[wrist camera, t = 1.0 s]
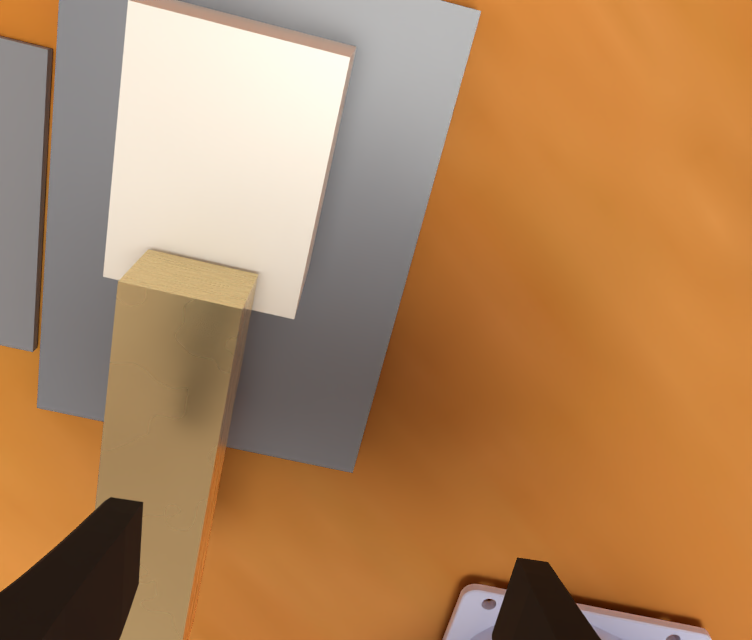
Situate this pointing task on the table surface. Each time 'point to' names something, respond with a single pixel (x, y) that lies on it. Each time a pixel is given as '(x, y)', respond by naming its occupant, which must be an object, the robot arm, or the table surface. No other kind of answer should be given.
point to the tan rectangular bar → (172, 422)
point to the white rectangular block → (224, 144)
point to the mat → (22, 186)
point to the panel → (333, 237)
